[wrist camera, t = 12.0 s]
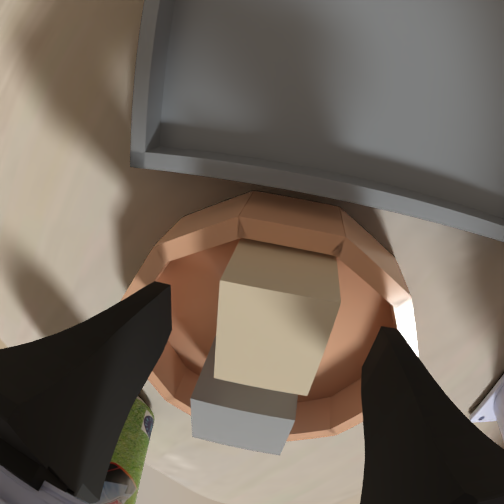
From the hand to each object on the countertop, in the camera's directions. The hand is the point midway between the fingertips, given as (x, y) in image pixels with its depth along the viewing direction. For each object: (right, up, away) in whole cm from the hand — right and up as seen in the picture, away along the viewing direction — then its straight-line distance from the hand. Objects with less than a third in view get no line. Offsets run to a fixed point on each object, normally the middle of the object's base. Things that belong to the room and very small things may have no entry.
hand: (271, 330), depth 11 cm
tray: (+4, +11, -2) cm, 11 cm away
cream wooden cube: (+1, +2, +2) cm, 3 cm away
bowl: (0, -1, +5) cm, 5 cm away
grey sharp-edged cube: (0, -3, +5) cm, 6 cm away
